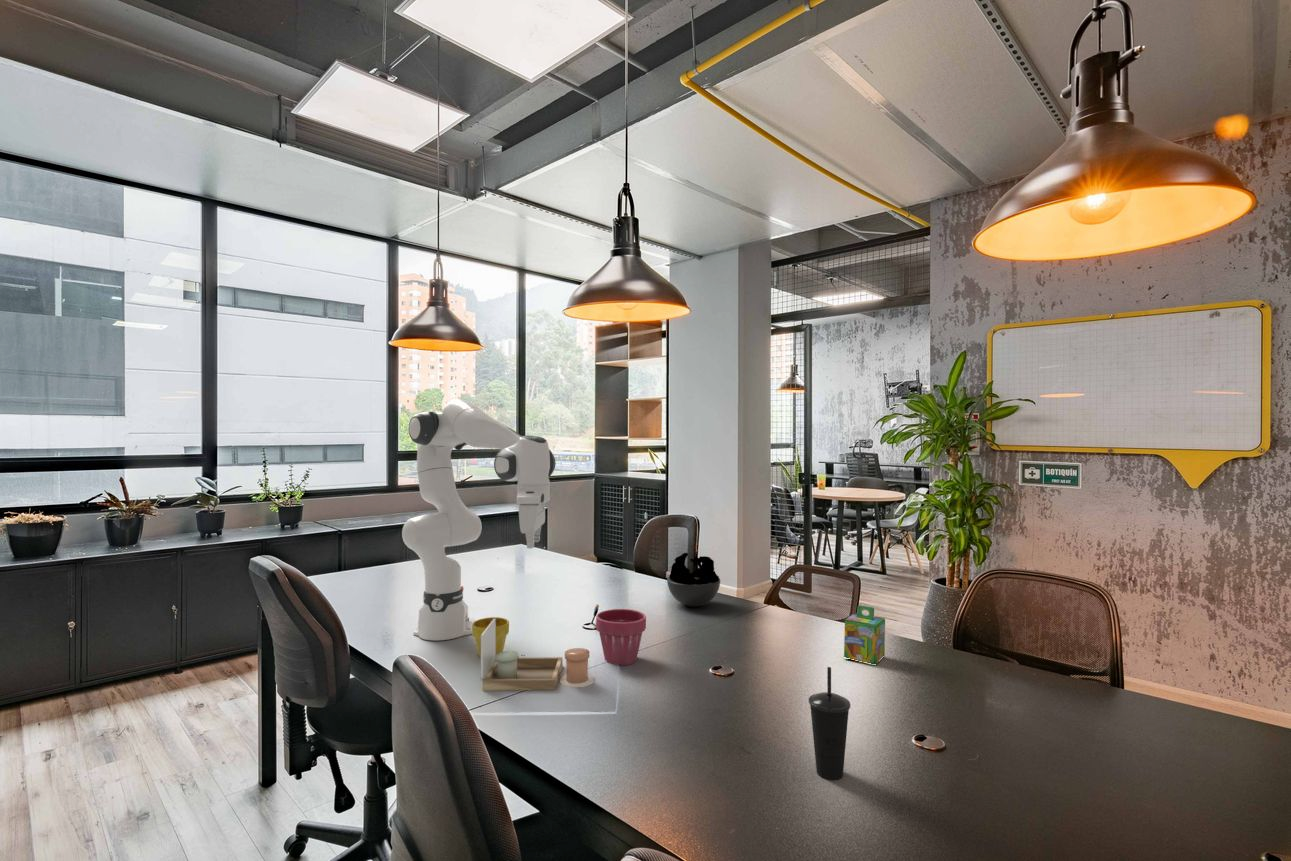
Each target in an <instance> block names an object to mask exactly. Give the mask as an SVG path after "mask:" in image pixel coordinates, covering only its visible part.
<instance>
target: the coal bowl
mask: <svg viewBox="0 0 1291 861" xmlns="http://www.w3.org/2000/svg"><path fill="white" fill-rule="evenodd" d="M688 556H689V553H688V552H684V553H682V554H680V555H679V556H677V557H675V558H674V562H673V563H672V565H671V567H670V568H671V569H670V573H669V576H668V577H667V578H666V583H667V586H668V590H669V592H670V593H671V595H672V596H673V598H674V599H675V600H676V601H677V602H679V603H680V604H682V605H685V606H686V607H702V606H704V605H706V604H708V603H709V602H711V601H712V600H713V599H714V598H715V597H716V596H717V594H718V592H719V589H720V586H721V579H720V576H719V575H717V573H716V571H715V561H714V559H713V558H711V557H710V556H706V555H704V556H702V555H701V556H698V557H697V556H695V557H694V558H690V559H689V561H690V562H692V563H693V564H694V565H697V568H696V570H694V571H693V572H690V569H689V568H688V567H687V566H686V559H687V557H688Z"/></svg>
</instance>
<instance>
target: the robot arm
mask: <svg viewBox="0 0 1291 861" xmlns="http://www.w3.org/2000/svg"><path fill="white" fill-rule="evenodd" d="M408 435H409V437H410V439H411V441H412V442H413V443H415V444H417V445H418V447H417V452H416V453H417V454H416V468H417V469H416V470H417V479H418V486H419V487H418V488H419V494H420V496H421V498H422V499H423V500H424V502H426V503H429V504H431V505H432V506H434V507H435V508H436V509H437V511H438V513H430V514H422V515H418V516H415V517H410V518H408V519H407V520H406V521H405V523H404V524H403V526H402V530H401V537H402V540H403V543H404V544H405V546H406V547H407V548H408V549H410V550H412V551H413V552H414V553H415V554H416V555H417V556H418V557H419V559H420V561H421V562H422V565H423V566H422V567H423V571H424V590H423V594H422V595H423V596H422V597H423V598H422V599H423V601H422V602H423V605H422V606H421V607H419V610H418V622H417V628H416V629H415V630H413V633H412V634H413V635H414V636H417V637H419V638H420V639H423V640H424V641H445V640H446V641H448V640H453V639H457V638H461V637H463V636H470V635H473V634H472V624H473V623H474V622H475V621H476V619H475V618H474V617H471V616H470V617H469V606H468V605H467V604H466V602H465V601H464V588H465V587H464V586H463V585H462V566H461V565H460V562H458V561H457V560H456V559H455V558H451V557H449V556H447V555H446V550H445V549H446V548H447V547H456V546H463V545H466V544H470V543H472V542H475V541H477V540H478V538H479V537H480V536H481V534H482V529H483V528H482V526H483V525H482V521H481V518H480V517H479V515H478V514H477V513H476V512H474V511H472V510H471V509H469V507H467V506H466V505H465V504H464V502H463V501H462V499H461V498H460V495H459V494H458V491H457V485H456V482H455V476H454V468H453V463H452V456H451V454H452V451H453V449H455V450H456V451H460V450H462V449H463V448H464V447H465V446H470V447H473V448H481V449H482V448H483V449H498V452H497V453H496V455H495V458H494V462H493V468H494V471H495V474H496V475H497V477H498V478H499V479H500V480H501V481H506V482H517V484H516V486H517V495H516V502H515V503H516V505H518V518H519V520H518V521H519V530H520V534H525V540H526V549H534V548H535V543H538V542H540V540H541V530H542V526H543V525H544V524H545V523H546V503H547V502H550V501H551V492H550V491H551V482H550V477H551V476H552V475H553V473H554V471H555V469H556V464H557V463H556V458H555V455H554V453H553V452H552V451H551V449H550V448H549V447H550V446H549V443H548V440H547V439H546V438H544V437H542V436H539V435H536V436H535V435H522V434H520V433H518V432H517V431H515V430H514V429H513V428H510V427H508V426H507V425H504V424H503V423H501V422H499V421H497V420H496V419H494V418H493V417H491V416H490V415H489V414H487V413H486V412H485V411H483V410H482V409H481V408H479V407H478V406H476V405H475V404H473V403H472V402H470V401H468V400H465V399H463V398H455V399H452V400H450V401H449V402H447V403H446V405H445V406H444V408H443V410H442V412H441V411H434V410H430V411H429V410H428V411H422V412H418V413H416V414H414V415H413V416H412V417H411V418H410V421H409V424H408Z"/></svg>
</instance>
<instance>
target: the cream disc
mask: <svg viewBox="0 0 1291 861" xmlns="http://www.w3.org/2000/svg"><path fill="white" fill-rule="evenodd" d="M594 682H595V677H594V675H592V674H589V673H588V680H587V681H586V682H584V683H579V684H573V683H569V682H567V681H566V674H564V675H563V676H561V677H559V683H560V685H561V686H563V687H567V688H575V689H576V688H584V687H587V686H590V685H592V684H593V683H594Z"/></svg>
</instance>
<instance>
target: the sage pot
mask: <svg viewBox="0 0 1291 861" xmlns="http://www.w3.org/2000/svg"><path fill="white" fill-rule="evenodd" d="M519 654H520V653H519V652H518V651H515V650H503V652H500V653H498V654H496V661H497V679H516V678H517V660H518V658H520V657H519Z"/></svg>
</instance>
